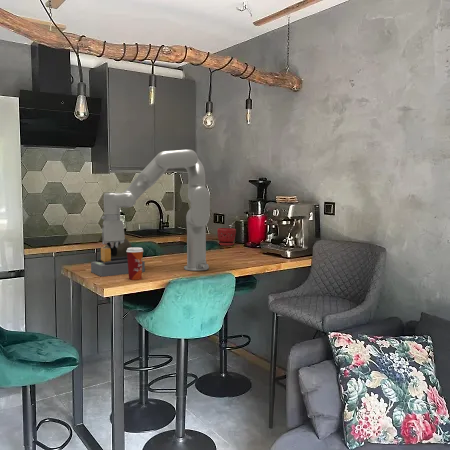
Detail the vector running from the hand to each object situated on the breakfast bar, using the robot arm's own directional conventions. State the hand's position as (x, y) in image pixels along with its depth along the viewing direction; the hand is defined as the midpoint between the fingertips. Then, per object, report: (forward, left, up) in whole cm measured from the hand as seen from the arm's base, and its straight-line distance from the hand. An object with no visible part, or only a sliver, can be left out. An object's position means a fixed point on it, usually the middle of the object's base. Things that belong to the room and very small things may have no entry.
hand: (113, 255), depth 224 cm
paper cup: (-20, -2, -9) cm, 22 cm away
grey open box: (0, -2, -8) cm, 9 cm away
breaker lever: (0, +4, -4) cm, 6 cm away
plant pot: (+53, -106, -9) cm, 119 cm away
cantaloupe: (+18, -10, -9) cm, 22 cm away
